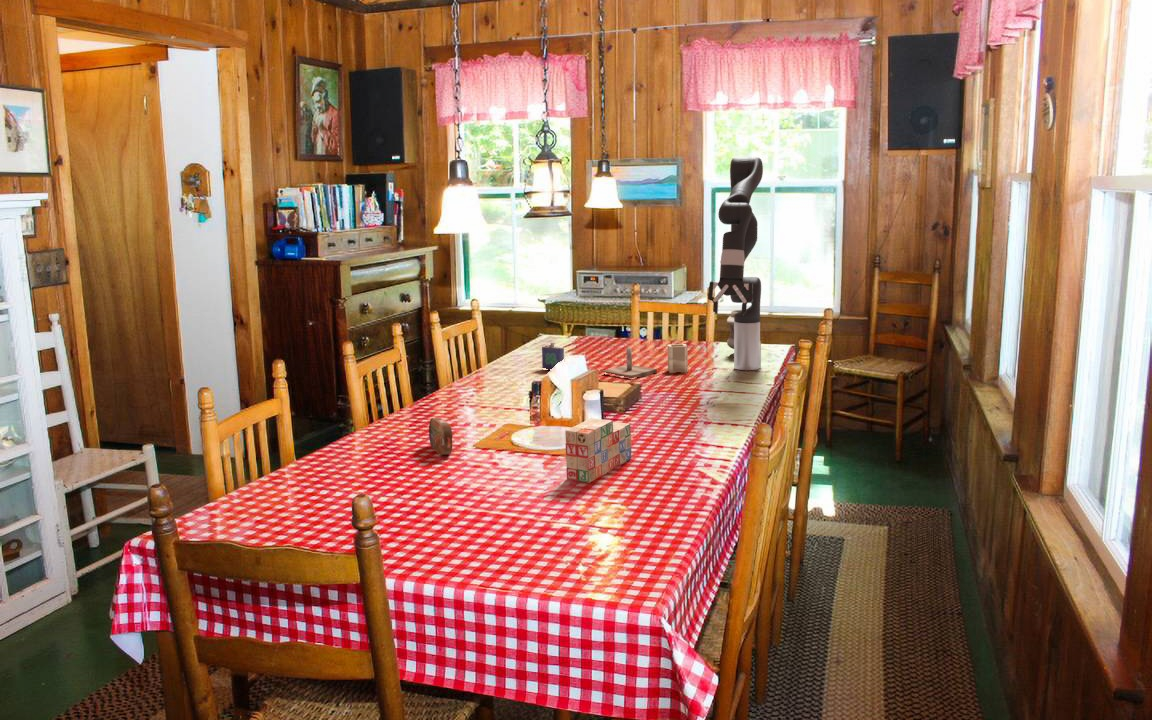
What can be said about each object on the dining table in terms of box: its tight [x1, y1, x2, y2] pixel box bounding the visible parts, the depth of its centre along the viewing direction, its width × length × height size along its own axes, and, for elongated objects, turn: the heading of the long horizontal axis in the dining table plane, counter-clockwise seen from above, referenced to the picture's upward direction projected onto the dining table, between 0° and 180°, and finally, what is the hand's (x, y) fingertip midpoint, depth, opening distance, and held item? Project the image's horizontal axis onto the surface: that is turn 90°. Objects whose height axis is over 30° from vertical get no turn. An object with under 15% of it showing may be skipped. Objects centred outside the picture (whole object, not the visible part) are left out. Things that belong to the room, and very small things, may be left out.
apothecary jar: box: [726, 309, 742, 358], centre depth 362 cm, size 12×12×18 cm
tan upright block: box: [667, 343, 689, 374], centre depth 339 cm, size 5×6×10 cm
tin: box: [428, 417, 453, 456], centre depth 247 cm, size 15×3×8 cm, turn 23°
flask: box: [541, 341, 565, 370], centre depth 346 cm, size 9×3×11 cm, turn 61°
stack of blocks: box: [564, 417, 632, 484], centre depth 228 cm, size 21×6×12 cm, turn 149°
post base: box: [601, 347, 658, 378], centre depth 336 cm, size 14×14×10 cm
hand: (729, 314), depth 304 cm, fingers open, 8 cm apart
